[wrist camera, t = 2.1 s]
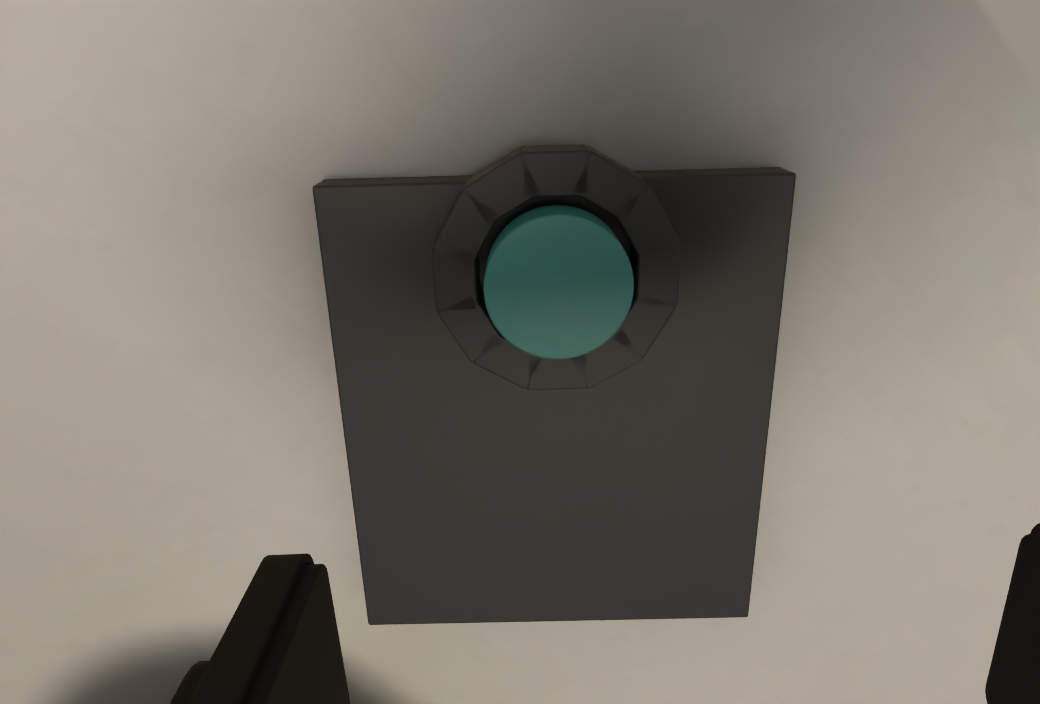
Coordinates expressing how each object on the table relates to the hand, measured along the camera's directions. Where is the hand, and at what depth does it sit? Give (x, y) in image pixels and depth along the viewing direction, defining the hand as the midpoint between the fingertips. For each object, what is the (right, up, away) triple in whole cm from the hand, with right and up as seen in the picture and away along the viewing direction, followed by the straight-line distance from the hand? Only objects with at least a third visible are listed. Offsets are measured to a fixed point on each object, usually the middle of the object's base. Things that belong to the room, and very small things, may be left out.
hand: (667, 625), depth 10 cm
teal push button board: (-1, +2, +15) cm, 15 cm away
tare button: (-1, +6, +11) cm, 12 cm away
